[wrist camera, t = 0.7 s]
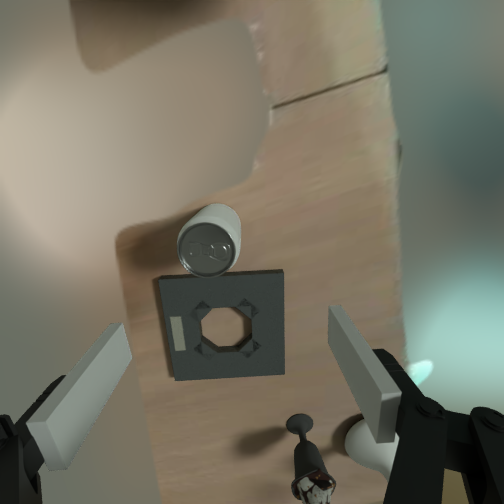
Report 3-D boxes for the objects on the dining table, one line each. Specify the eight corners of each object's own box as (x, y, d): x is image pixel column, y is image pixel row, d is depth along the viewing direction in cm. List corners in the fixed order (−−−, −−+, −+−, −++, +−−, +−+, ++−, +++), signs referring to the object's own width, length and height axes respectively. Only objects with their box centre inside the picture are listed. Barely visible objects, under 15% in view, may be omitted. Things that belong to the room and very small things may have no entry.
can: (239, 250, 37) (237, 284, 26) (194, 246, 37) (171, 279, 25) (243, 205, 35) (243, 221, 24) (195, 200, 35) (172, 214, 23)
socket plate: (161, 275, 38) (157, 280, 36) (282, 269, 38) (284, 273, 37) (177, 374, 43) (174, 382, 42) (283, 367, 44) (284, 375, 42)
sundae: (294, 442, 49) (315, 554, 35) (275, 420, 47) (289, 529, 33) (324, 427, 48) (358, 535, 34) (306, 404, 46) (334, 508, 32)
